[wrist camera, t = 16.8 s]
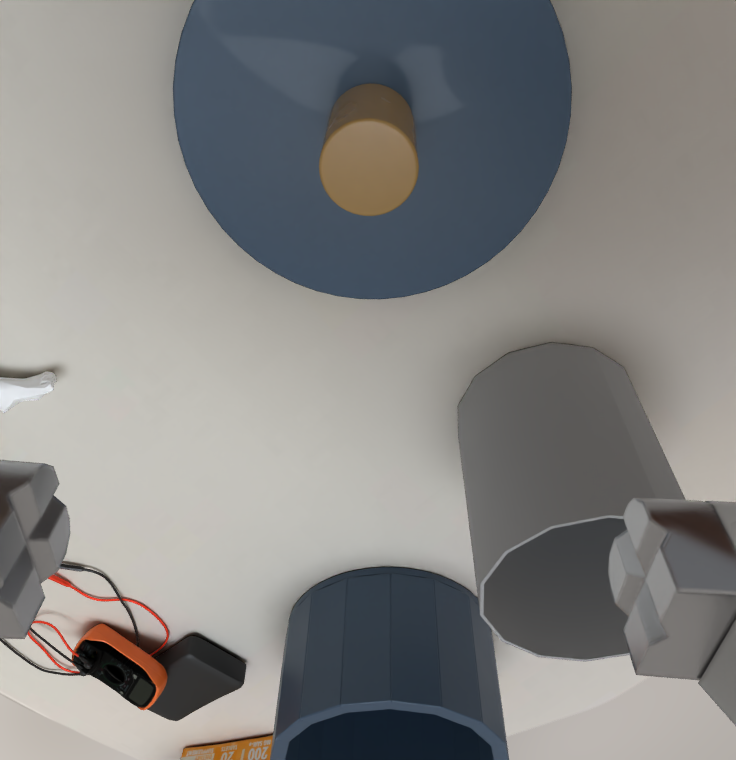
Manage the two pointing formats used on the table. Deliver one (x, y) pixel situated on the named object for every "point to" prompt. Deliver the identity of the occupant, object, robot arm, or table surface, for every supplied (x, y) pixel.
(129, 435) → the table surface
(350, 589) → the tin
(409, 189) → the tin lid
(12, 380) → the person figurine
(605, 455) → the cup
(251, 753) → the supplement box
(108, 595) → the table surface
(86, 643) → the multimeter
